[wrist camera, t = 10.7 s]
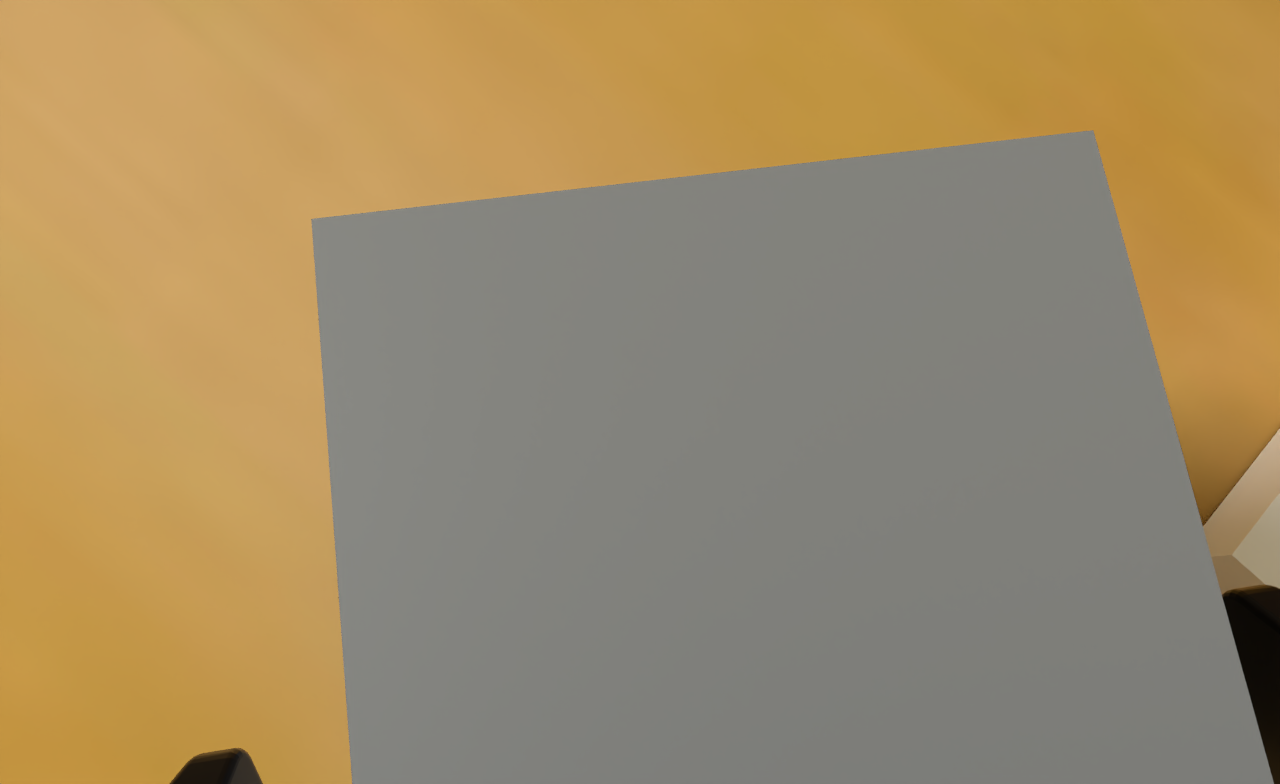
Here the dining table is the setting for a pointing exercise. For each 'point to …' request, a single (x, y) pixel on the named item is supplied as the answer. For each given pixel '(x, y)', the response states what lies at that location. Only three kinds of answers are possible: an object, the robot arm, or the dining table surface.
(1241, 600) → the robot arm
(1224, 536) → the base
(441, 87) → the dining table surface
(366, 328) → the tall grey box
